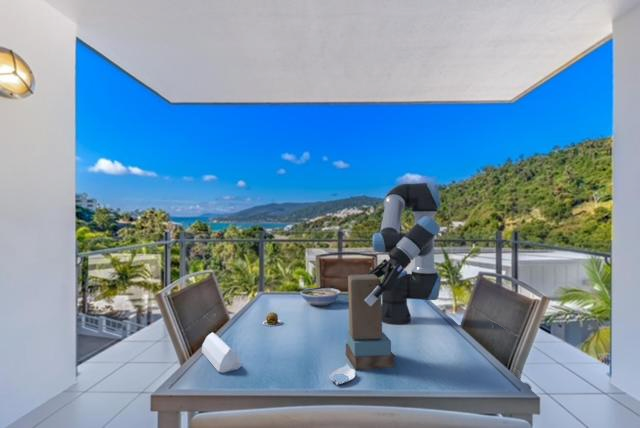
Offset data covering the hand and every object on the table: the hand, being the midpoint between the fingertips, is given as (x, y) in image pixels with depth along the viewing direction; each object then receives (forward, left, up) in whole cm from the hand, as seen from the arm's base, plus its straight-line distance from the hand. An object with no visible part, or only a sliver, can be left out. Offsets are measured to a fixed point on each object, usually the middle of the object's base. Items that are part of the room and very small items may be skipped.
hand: (361, 298), depth 119 cm
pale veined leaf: (+9, +11, -22) cm, 26 cm away
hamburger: (+28, -49, -22) cm, 60 cm away
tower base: (-3, 0, -22) cm, 22 cm away
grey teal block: (-2, 0, -17) cm, 17 cm away
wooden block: (-1, 0, -13) cm, 13 cm away
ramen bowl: (+1, -80, -21) cm, 83 cm away
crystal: (+47, -9, -22) cm, 53 cm away
